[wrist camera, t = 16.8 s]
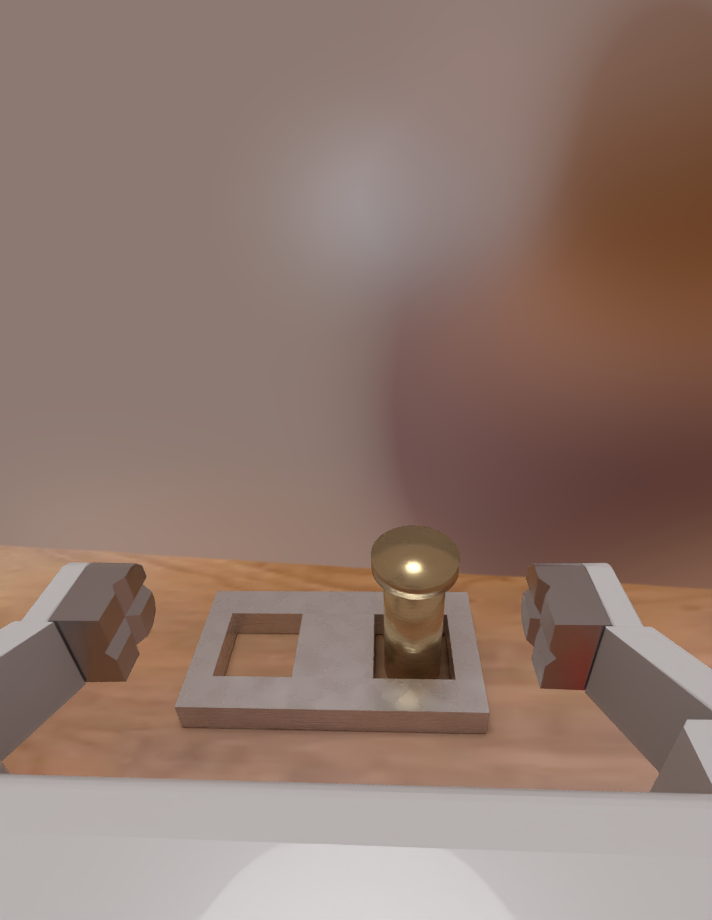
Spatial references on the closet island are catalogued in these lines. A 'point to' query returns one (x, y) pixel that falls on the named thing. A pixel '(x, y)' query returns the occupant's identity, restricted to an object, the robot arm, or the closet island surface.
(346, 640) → the plate
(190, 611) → the closet island surface
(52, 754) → the closet island surface
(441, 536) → the brass capped peg
